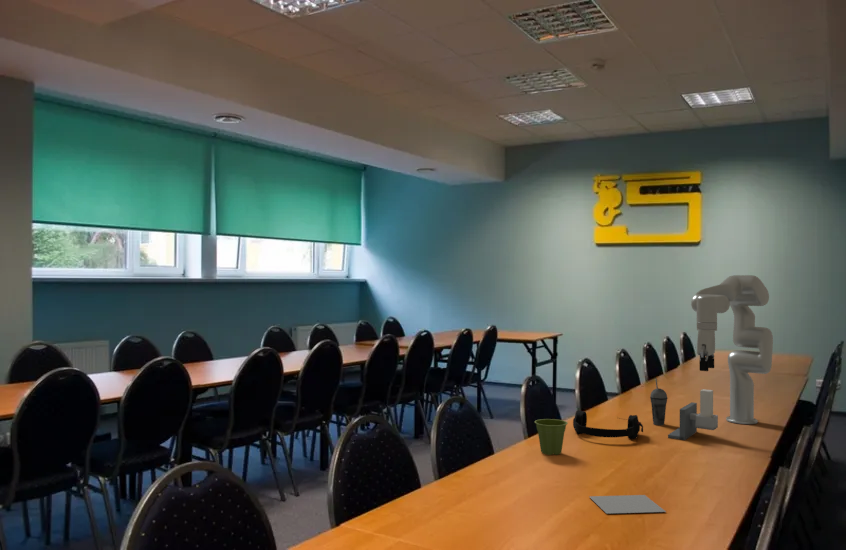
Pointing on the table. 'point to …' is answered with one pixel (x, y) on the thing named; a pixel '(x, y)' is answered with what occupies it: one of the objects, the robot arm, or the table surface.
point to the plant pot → (551, 435)
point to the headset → (581, 428)
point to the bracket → (692, 422)
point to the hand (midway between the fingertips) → (707, 369)
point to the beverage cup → (658, 405)
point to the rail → (706, 403)
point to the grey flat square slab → (626, 504)
